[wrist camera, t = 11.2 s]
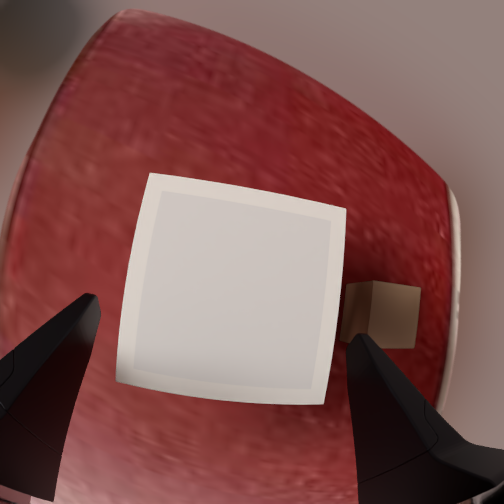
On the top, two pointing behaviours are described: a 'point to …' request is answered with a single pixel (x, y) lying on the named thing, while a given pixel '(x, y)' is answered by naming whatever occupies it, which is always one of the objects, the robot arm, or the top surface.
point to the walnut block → (381, 313)
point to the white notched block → (231, 293)
